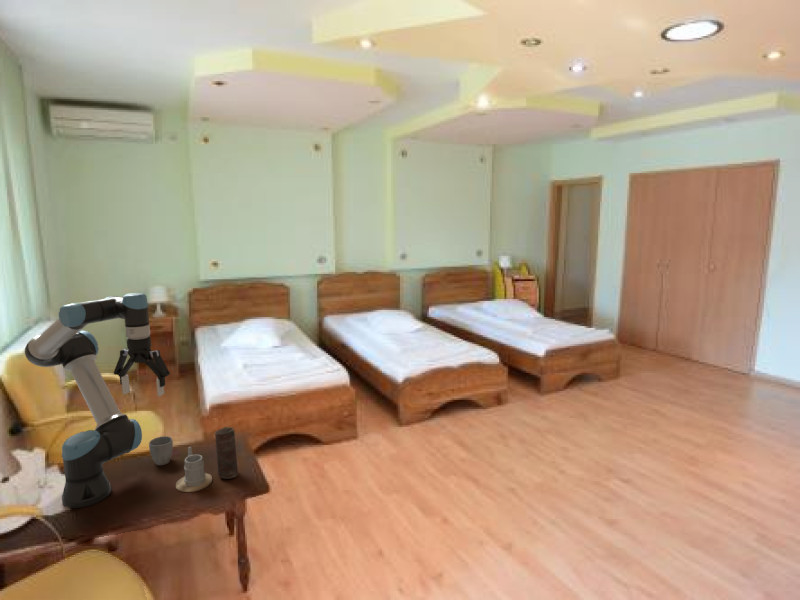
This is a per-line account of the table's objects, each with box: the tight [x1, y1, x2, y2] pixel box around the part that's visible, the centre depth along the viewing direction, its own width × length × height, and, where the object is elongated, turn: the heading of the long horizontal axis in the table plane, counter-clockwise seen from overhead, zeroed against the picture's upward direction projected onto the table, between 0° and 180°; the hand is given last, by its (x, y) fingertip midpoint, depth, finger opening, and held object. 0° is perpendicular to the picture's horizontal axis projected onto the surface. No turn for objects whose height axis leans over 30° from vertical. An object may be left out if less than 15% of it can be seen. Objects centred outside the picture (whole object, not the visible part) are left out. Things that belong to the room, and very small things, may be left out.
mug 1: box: [148, 435, 174, 466], centre depth 202 cm, size 12×9×10 cm
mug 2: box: [183, 446, 206, 487], centre depth 186 cm, size 8×12×12 cm, turn 36°
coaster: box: [175, 472, 213, 493], centre depth 186 cm, size 13×13×1 cm
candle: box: [214, 426, 239, 479], centre depth 189 cm, size 8×7×20 cm
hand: (143, 394), depth 173 cm, fingers open, 13 cm apart
